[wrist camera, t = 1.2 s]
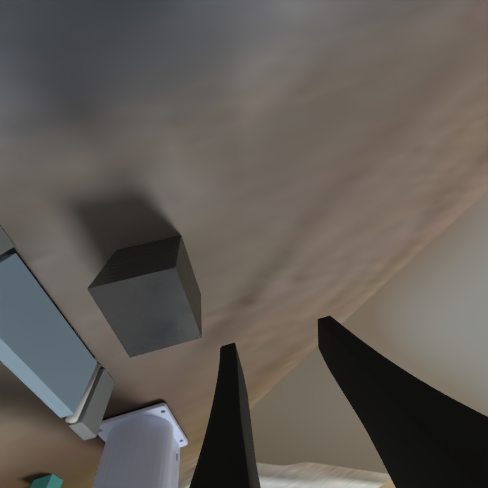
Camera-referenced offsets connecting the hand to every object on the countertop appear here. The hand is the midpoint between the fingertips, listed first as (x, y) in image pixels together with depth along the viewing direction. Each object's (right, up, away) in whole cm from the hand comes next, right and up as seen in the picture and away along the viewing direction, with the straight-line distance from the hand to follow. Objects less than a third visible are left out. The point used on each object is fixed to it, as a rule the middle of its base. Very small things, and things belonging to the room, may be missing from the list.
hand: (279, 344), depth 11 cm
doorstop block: (-9, +2, +8) cm, 12 cm away
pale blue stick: (-17, -1, +7) cm, 18 cm away
